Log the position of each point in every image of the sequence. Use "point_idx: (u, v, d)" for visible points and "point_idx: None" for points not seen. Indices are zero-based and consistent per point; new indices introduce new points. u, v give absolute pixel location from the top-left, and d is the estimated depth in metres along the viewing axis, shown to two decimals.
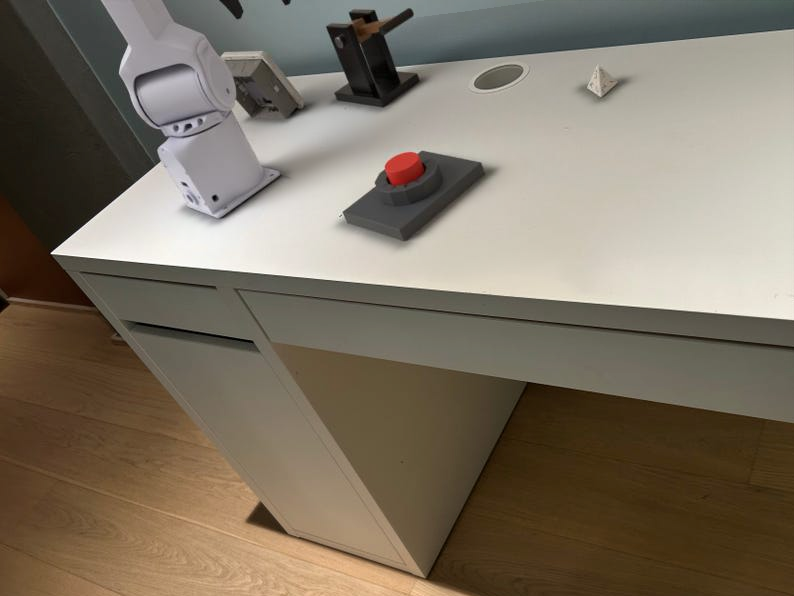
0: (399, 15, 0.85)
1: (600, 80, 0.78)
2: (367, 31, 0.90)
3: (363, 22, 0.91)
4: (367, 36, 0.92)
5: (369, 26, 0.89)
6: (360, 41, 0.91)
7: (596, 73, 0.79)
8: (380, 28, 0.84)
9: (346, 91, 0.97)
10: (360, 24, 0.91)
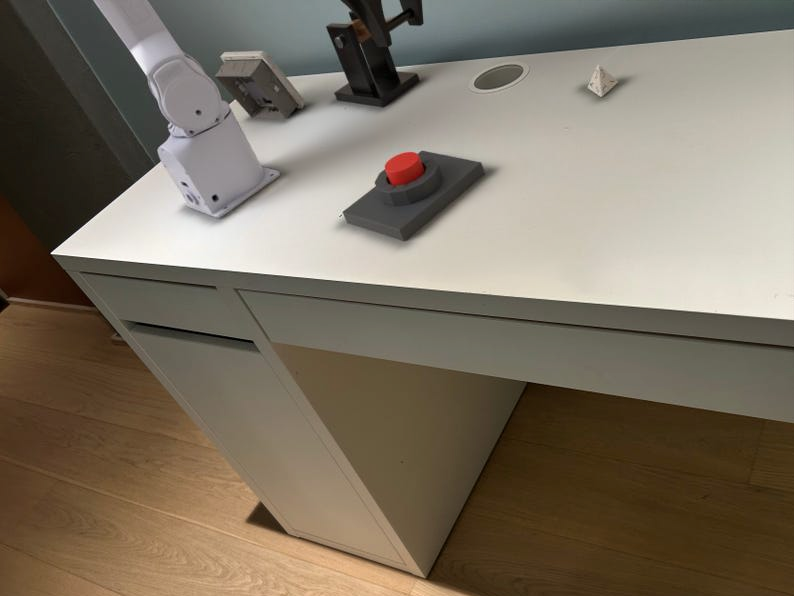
0: (399, 15, 0.85)
1: (601, 80, 0.78)
2: (367, 31, 0.90)
3: None
4: (367, 36, 0.92)
5: None
6: (360, 41, 0.91)
7: (596, 73, 0.79)
8: None
9: (346, 91, 0.97)
10: (360, 24, 0.91)
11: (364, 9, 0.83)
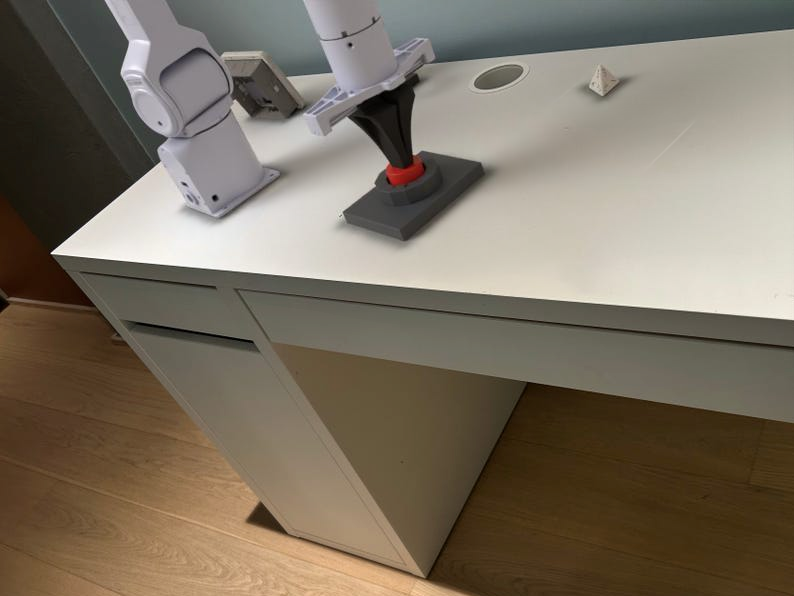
0: None
1: (602, 79, 0.78)
2: None
3: None
4: None
5: None
6: None
7: (598, 72, 0.79)
8: None
9: None
10: None
11: (376, 127, 0.68)
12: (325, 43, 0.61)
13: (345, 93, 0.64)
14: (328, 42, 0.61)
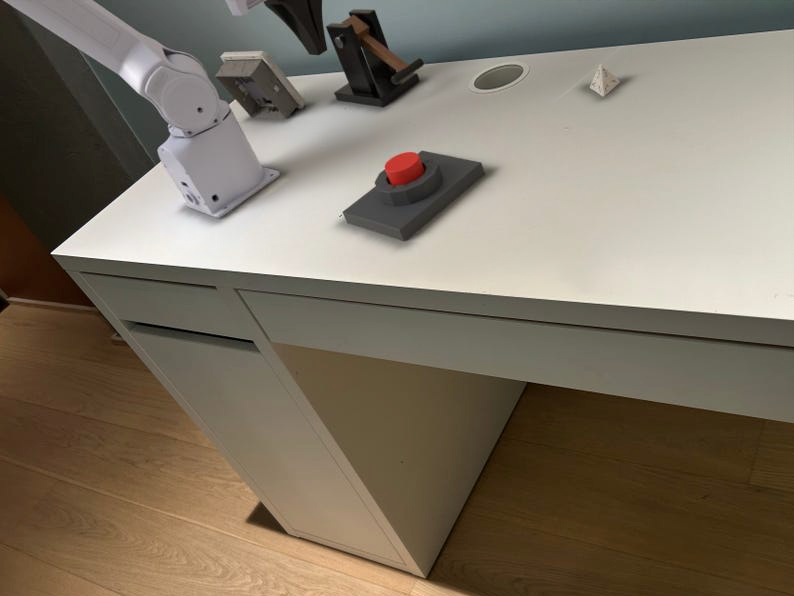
0: (412, 67, 0.90)
1: (603, 79, 0.78)
2: (371, 49, 0.91)
3: (367, 30, 0.92)
4: None
5: (376, 50, 0.91)
6: None
7: (599, 73, 0.79)
8: (393, 78, 0.89)
9: (346, 91, 0.97)
10: (365, 32, 0.91)
11: (292, 16, 0.80)
12: None
13: None
14: None
